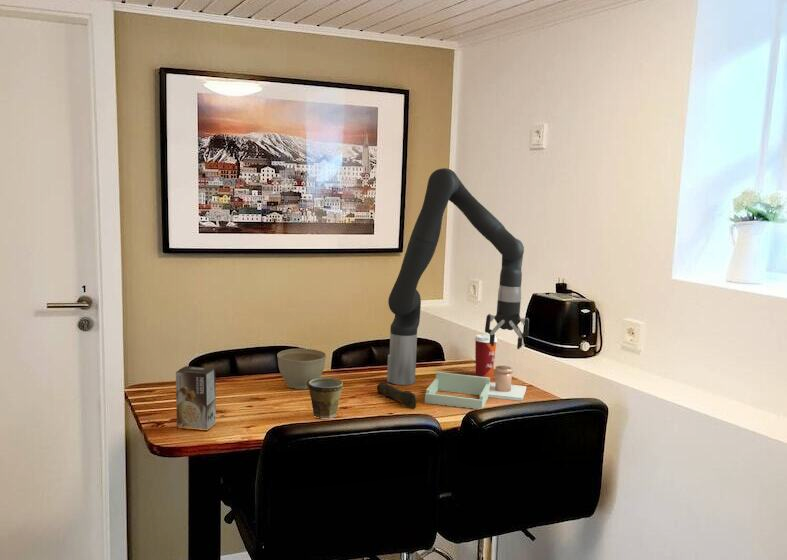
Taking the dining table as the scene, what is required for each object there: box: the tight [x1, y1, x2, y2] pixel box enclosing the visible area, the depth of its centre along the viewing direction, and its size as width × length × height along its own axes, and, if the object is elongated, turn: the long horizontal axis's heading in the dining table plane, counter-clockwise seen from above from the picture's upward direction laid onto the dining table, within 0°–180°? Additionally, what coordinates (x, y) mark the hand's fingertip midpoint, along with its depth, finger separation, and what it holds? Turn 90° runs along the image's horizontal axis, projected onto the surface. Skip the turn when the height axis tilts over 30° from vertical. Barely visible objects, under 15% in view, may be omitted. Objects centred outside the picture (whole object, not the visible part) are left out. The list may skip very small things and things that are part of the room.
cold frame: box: [424, 371, 491, 410], centre depth 220 cm, size 18×16×6 cm
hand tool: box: [376, 381, 417, 409], centre depth 216 cm, size 19×4×5 cm, turn 32°
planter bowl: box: [276, 348, 327, 390], centre depth 228 cm, size 16×16×11 cm
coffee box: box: [175, 365, 217, 429], centre depth 187 cm, size 9×6×16 cm
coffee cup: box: [474, 333, 498, 380], centre depth 247 cm, size 8×8×15 cm
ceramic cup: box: [307, 377, 344, 419], centre depth 201 cm, size 13×10×10 cm
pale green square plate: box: [478, 381, 527, 402], centre depth 229 cm, size 14×14×1 cm
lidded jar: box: [494, 365, 514, 392], centre depth 229 cm, size 6×6×8 cm
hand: (505, 347), depth 227 cm, fingers open, 8 cm apart
